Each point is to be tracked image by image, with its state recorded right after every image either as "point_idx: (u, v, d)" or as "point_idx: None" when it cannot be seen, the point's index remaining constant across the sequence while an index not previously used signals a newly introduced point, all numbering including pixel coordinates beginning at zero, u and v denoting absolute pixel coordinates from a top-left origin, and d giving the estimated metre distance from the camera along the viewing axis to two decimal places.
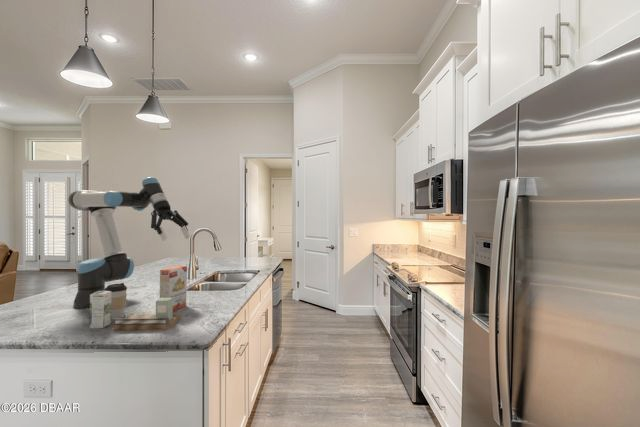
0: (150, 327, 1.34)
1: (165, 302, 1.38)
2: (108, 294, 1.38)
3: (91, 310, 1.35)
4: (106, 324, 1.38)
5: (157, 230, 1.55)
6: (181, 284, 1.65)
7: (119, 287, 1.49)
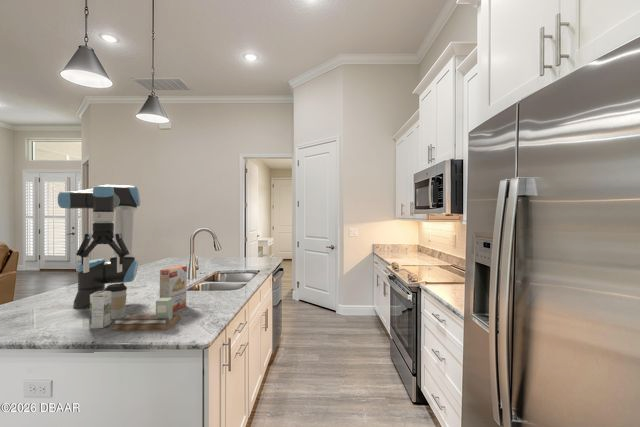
0: (150, 327, 1.34)
1: (165, 302, 1.38)
2: (108, 294, 1.38)
3: (91, 310, 1.35)
4: (106, 324, 1.38)
5: None
6: (181, 284, 1.65)
7: (119, 287, 1.49)
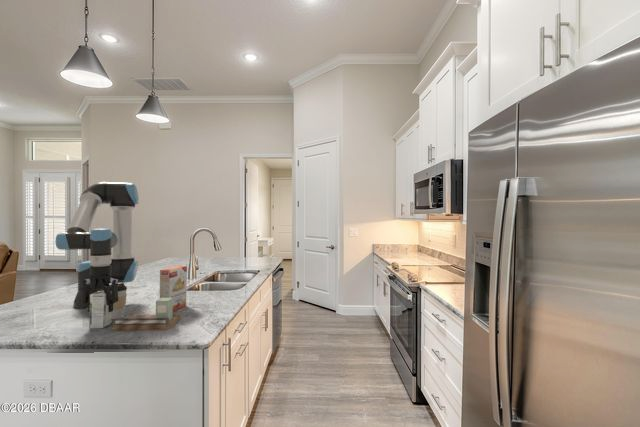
0: (150, 327, 1.34)
1: (165, 302, 1.38)
2: None
3: (91, 310, 1.35)
4: (106, 324, 1.38)
5: None
6: (181, 284, 1.65)
7: (119, 287, 1.49)
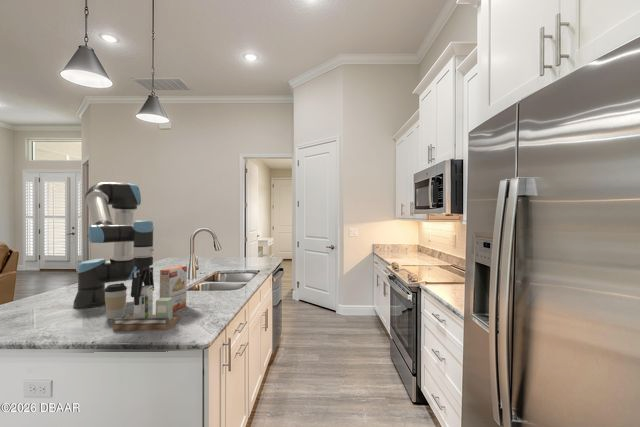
0: (150, 327, 1.34)
1: (165, 302, 1.38)
2: None
3: (148, 303, 1.38)
4: None
5: (135, 300, 1.34)
6: (181, 284, 1.65)
7: (119, 287, 1.49)
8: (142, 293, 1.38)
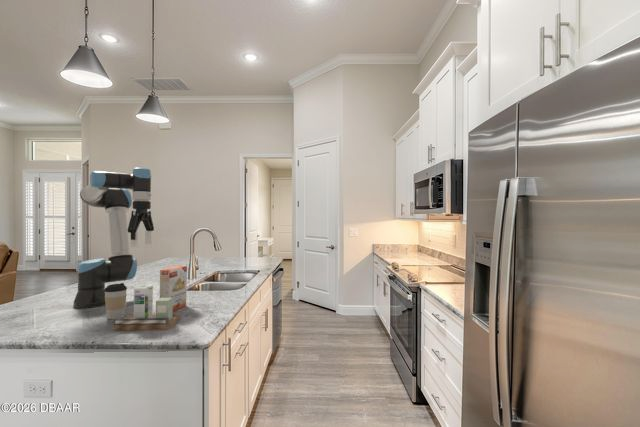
0: (150, 327, 1.34)
1: (165, 302, 1.38)
2: None
3: (148, 303, 1.38)
4: None
5: (131, 235, 1.46)
6: (181, 284, 1.65)
7: (119, 287, 1.49)
8: (142, 293, 1.38)
